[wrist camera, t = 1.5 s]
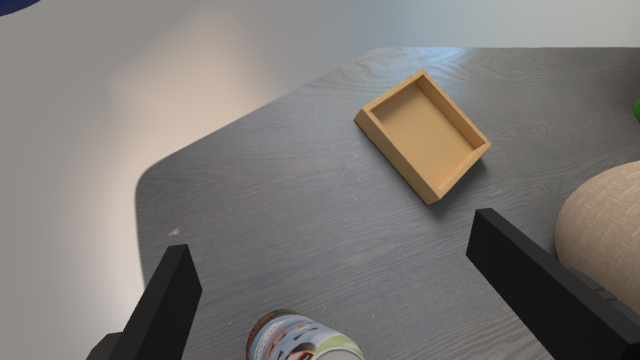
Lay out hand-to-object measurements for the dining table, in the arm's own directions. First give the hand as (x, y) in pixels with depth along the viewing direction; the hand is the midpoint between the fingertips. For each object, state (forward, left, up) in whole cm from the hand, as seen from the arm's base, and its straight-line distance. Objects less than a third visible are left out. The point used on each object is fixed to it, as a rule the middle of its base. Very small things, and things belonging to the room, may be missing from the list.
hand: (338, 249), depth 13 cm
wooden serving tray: (-1, +26, -17) cm, 31 cm away
